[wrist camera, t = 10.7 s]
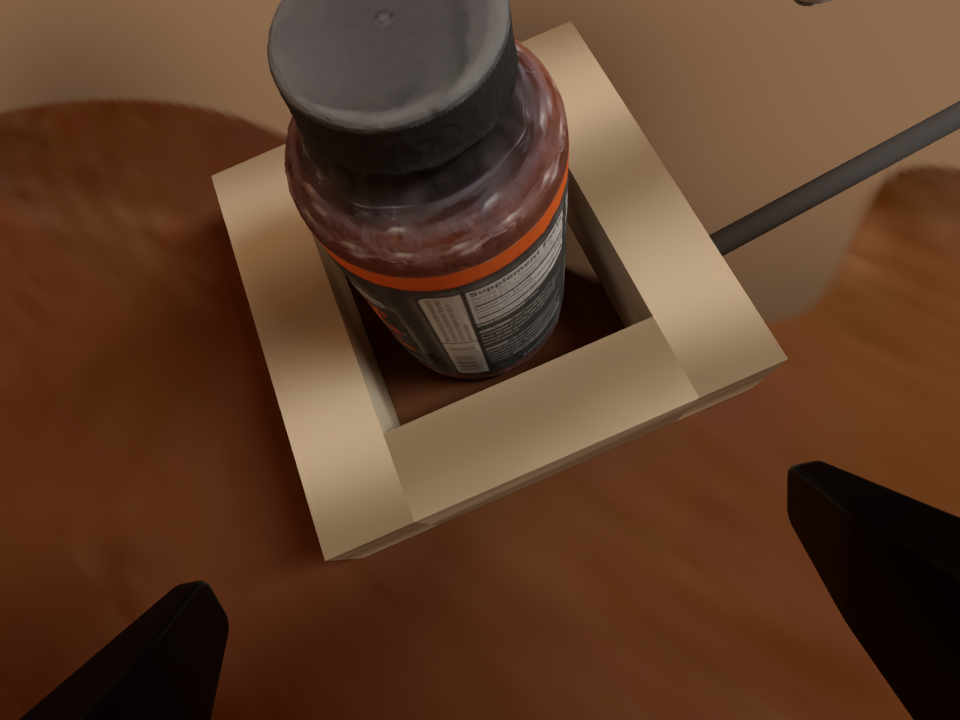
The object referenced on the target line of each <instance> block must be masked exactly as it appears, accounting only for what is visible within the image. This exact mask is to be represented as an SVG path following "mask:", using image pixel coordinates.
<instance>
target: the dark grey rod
mask: <svg viewBox="0 0 960 720" xmlns="http://www.w3.org/2000/svg"><path fill="white" fill-rule="evenodd" d="M959 128H960V101H959V102H957V103H955V104H953V105H952V106H950V107H948V108H946V109H944V110H942V111H940V112H939V113H937V114H935V115H933V116H931V117H929V118H927V119H925V120H924V121H922V122H920V123H918V124H916V125H914V126H913V127H911V128H909V129H907V130H905V131H903V132H901V133H899V134H897V135H896V136H894V137H892V138H890V139H888V140H887V141H884V142H883V143H881V144H879V145H877V146H875V147H874V148H871V149H870V150H868V151H866V152H864V153H862V154H860V155H858V156H856V157H855V158H853V159H851V160H849V161H847V162H845V163H843V164H842V165H840V166H838V167H836V168H834V169H832V170H830V171H828V172H827V173H825V174H823V175H821V176H819V177H817V178H816V179H814V180H812V181H810V182H808V183H806V184H804V185H802V186H801V187H799V188H797V189H795V190H793V191H791V192H789V193H787V194H786V195H784V196H782V197H780V198H778V199H776V200H775V201H773V202H771V203H769V204H767V205H765V206H763V207H762V208H760V209H758V210H756V211H754V212H752V213H750V214H748V215H747V216H745V217H743V218H741V219H739V220H737V221H735V222H734V223H732V224H730V225H728V226H726V227H724V228H722V229H720V230H719V231H717V232H715V233H713V234H711V235H709V237H710V238H711V240H712V241H713V243H714V244H715V246H716V248H717V249H718V251H719V252H720V254H721V255H722V256H724V255H725V254H727V253H729V252H731V251H733V250H735V249H737V248H738V247H740V246H742V245H744V244H746V243H748V242H750V241H751V240H753V239H755V238H757V237H759V236H760V235H763V234H764V233H766V232H768V231H770V230H772V229H774V228H776V227H777V226H779V225H781V224H783V223H785V222H787V221H789V220H790V219H792V218H794V217H796V216H798V215H800V214H802V213H803V212H805V211H807V210H809V209H811V208H812V207H815V206H816V205H818V204H820V203H822V202H824V201H826V200H828V199H829V198H831V197H833V196H835V195H837V194H839V193H841V192H842V191H844V190H846V189H848V188H850V187H852V186H854V185H855V184H857V183H859V182H861V181H863V180H865V179H867V178H868V177H870V176H872V175H874V174H876V173H878V172H879V171H881V170H883V169H885V168H887V167H889V166H891V165H893V164H894V163H896V162H898V161H900V160H902V159H903V158H906V157H907V156H909V155H911V154H913V153H915V152H917V151H919V150H920V149H922V148H924V147H926V146H928V145H930V144H931V143H933V142H935V141H937V140H939V139H941V138H943V137H945V136H946V135H948V134H950V133H952V132H954V131H956V130H958V129H959Z"/></svg>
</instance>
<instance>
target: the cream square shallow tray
mask: <svg viewBox="0 0 960 720" xmlns="http://www.w3.org/2000/svg"><path fill="white" fill-rule="evenodd" d="M521 43H522V44H523V45H524V46H525V47H527V48H529V49H530V50H531V51H532V52H533V53H534V54H535V55H536V57H537V58H538V59H539V60H540V61H541V62H542V63H543V65H544V66H545V67H546V69H547V70H548V72H549V73H550V75H551V77H552V78H553V80H554V82H555V84H556V86H557V88H558V90H559V92H560V95H561V98H562V101H563V103H564V108H565V113H566V118H567V126H568V134H569V165H568V203H567V222H568V223H569V225H570V227H571V229H572V231H573V232H574V234H575V236H576V238H577V240H578V242H579V244H580V245H581V247H582V249H583V251H584V253H585V254H586V256H587V258H588V260H589V262H590V264H591V266H592V267H593V269H594V271H595V273H596V275H597V277H598V279H599V280H600V282H601V284H602V286H603V288H604V290H605V291H606V293H607V295H608V297H609V299H610V301H611V302H612V304H613V306H614V308H615V310H616V312H617V313H618V315H619V317H620V319H621V321H622V323H623V324H624V326H625V329H623V330H620V331H618V332H616V333H614V334H611V335H609V336H607V337H604V338H602V339H600V340H597V341H595V342H593V343H591V344H588V345H586V346H584V347H581V348H579V349H577V350H574V351H572V352H570V353H568V354H565V355H563V356H561V357H558V358H556V359H554V360H551V361H549V362H547V363H545V364H542V365H540V366H538V367H535V368H533V369H531V370H528V371H526V372H524V373H522V374H519V375H517V376H515V377H512V378H510V379H508V380H505V381H503V382H501V383H499V384H496V385H494V386H492V387H489V388H487V389H485V390H483V391H480V392H478V393H476V394H473V395H471V396H469V397H466V398H464V399H462V400H460V401H457V402H455V403H453V404H450V405H448V406H446V407H443V408H441V409H439V410H437V411H434V412H432V413H430V414H427V415H425V416H423V417H420V418H418V419H416V420H414V421H411V422H409V423H407V424H404V425H402V426H401V425H400V423H399V420H398V417H397V415H396V412H395V409H394V406H393V404H392V401H391V398H390V396H389V393H388V390H387V387H386V385H385V382H384V379H383V377H382V374H381V371H380V368H379V366H378V363H377V360H376V358H375V355H374V352H373V349H372V347H371V344H370V341H369V339H368V336H367V333H366V330H365V328H364V325H363V322H362V320H361V317H360V314H359V311H358V309H357V306H356V303H355V301H354V298H353V295H352V292H351V290H350V287H349V284H348V282H347V279H346V276H345V274H344V273H343V271H342V270H341V269H340V268H339V267H338V265H337V264H336V263H335V261H334V260H333V259H332V258H331V257H330V255H329V254H328V252H327V250H326V249H325V248H324V246H323V245H322V244H321V243H320V242H319V240H318V239H317V238H316V237H315V236H314V234H313V233H312V232H311V231H310V230H309V228H308V226H307V225H306V223H305V221H304V220H303V219H302V217H301V216H300V213H299V211H298V209H297V207H296V205H295V203H294V200H293V198H292V196H291V194H290V192H289V186H288V181H287V176H286V173H285V165H284V163H285V157H284V156H285V145H286V144H284V145H282V146H280V147H277V148H275V149H273V150H270V151H268V152H266V153H264V154H261V155H259V156H257V157H254V158H252V159H250V160H247V161H245V162H243V163H240V164H238V165H236V166H233V167H231V168H229V169H226V170H224V171H222V172H219V173H217V174H215V175H213V176H212V180H213V183H214V187H215V190H216V193H217V197H218V200H219V203H220V207H221V210H222V214H223V217H224V220H225V224H226V227H227V231H228V234H229V237H230V241H231V244H232V248H233V251H234V254H235V258H236V261H237V264H238V268H239V271H240V275H241V278H242V281H243V285H244V288H245V292H246V295H247V298H248V302H249V305H250V309H251V312H252V315H253V319H254V322H255V325H256V329H257V332H258V336H259V339H260V342H261V346H262V349H263V353H264V356H265V359H266V363H267V366H268V370H269V373H270V376H271V380H272V383H273V386H274V390H275V393H276V397H277V400H278V403H279V407H280V410H281V414H282V417H283V420H284V424H285V427H286V431H287V434H288V437H289V441H290V444H291V447H292V451H293V454H294V458H295V461H296V464H297V468H298V471H299V475H300V478H301V481H302V485H303V488H304V491H305V495H306V498H307V502H308V505H309V508H310V512H311V515H312V519H313V522H314V525H315V529H316V532H317V536H318V539H319V542H320V546H321V549H322V552H323V556H324V559H325V561H333V560H346V559H359V558H364V557H366V556H369V555H371V554H373V553H376V552H378V551H380V550H382V549H385V548H387V547H389V546H392V545H394V544H396V543H398V542H401V541H403V540H405V539H408V538H410V537H412V536H414V535H417V534H419V533H421V532H424V531H426V530H428V529H431V528H433V527H435V526H437V525H440V524H442V523H444V522H447V521H449V520H451V519H453V518H456V517H458V516H460V515H463V514H465V513H467V512H470V511H472V510H474V509H476V508H479V507H481V506H483V505H486V504H488V503H490V502H492V501H495V500H497V499H499V498H502V497H504V496H506V495H508V494H511V493H513V492H515V491H518V490H520V489H522V488H525V487H527V486H529V485H531V484H534V483H536V482H538V481H541V480H543V479H545V478H547V477H550V476H552V475H554V474H557V473H559V472H561V471H563V470H566V469H568V468H570V467H573V466H575V465H577V464H580V463H582V462H584V461H586V460H589V459H591V458H593V457H596V456H598V455H600V454H602V453H605V452H607V451H609V450H612V449H614V448H616V447H619V446H621V445H623V444H625V443H628V442H630V441H632V440H635V439H637V438H639V437H641V436H644V435H646V434H648V433H651V432H653V431H655V430H657V429H660V428H662V427H664V426H667V425H669V424H671V423H674V422H676V421H678V420H680V419H683V418H685V417H687V416H690V415H692V414H694V413H696V412H699V411H701V410H703V409H706V408H708V407H710V406H712V405H715V404H717V403H719V402H722V401H724V400H726V399H729V398H731V397H733V396H735V395H738V394H740V393H742V392H745V391H747V390H749V389H751V388H752V387H754V386H755V385H756V384H757V383H759V382H760V381H761V380H762V379H764V378H765V377H766V376H768V375H769V374H770V373H771V372H773V371H774V370H775V369H776V368H778V367H779V366H780V365H781V364H783V363H784V362H785V361H786V360H788V358H787V357H786V355H785V354H784V352H783V350H782V349H781V347H780V346H779V344H778V343H777V341H776V340H775V338H774V336H773V335H772V333H771V332H770V330H769V329H768V327H767V326H766V324H765V322H764V321H763V319H762V318H761V316H760V315H759V313H758V312H757V310H756V308H755V307H754V305H753V304H752V302H751V301H750V299H749V297H748V296H747V294H746V293H745V291H744V290H743V288H742V287H741V285H740V283H739V282H738V280H737V279H736V277H735V276H734V274H733V273H732V271H731V269H730V268H729V266H728V265H727V263H726V262H725V260H724V258H723V257H722V255H721V254H720V252H719V251H718V249H717V248H716V246H715V244H714V243H713V241H712V240H711V238H710V237H709V235H708V234H707V232H706V230H705V229H704V227H703V226H702V224H701V223H700V221H699V219H698V218H697V216H696V215H695V213H694V212H693V210H692V209H691V207H690V205H689V204H688V202H687V201H686V199H685V198H684V196H683V195H682V193H681V191H680V190H679V188H678V187H677V185H676V184H675V182H674V180H673V179H672V177H671V176H670V174H669V173H668V172H667V170H666V168H665V166H664V165H663V163H662V162H661V160H660V159H659V157H658V156H657V154H656V152H655V151H654V149H653V148H652V146H651V145H650V143H649V142H648V140H647V138H646V137H645V135H644V134H643V132H642V131H641V129H640V128H639V126H638V124H637V123H636V121H635V120H634V118H633V117H632V115H631V114H630V112H629V111H628V109H627V107H626V106H625V104H624V103H623V101H622V100H621V98H620V96H619V95H618V93H617V92H616V90H615V89H614V87H613V85H612V84H611V82H610V81H609V79H608V78H607V76H606V74H605V73H604V71H603V70H602V68H601V67H600V65H599V64H598V62H597V60H596V59H595V57H594V56H593V54H592V53H591V51H590V50H589V48H588V46H587V45H586V43H585V42H584V40H583V39H582V37H581V36H580V34H579V32H578V31H577V29H576V28H575V26H574V25H573V23H572V21H569V22H567V23H565V24H562V25H560V26H558V27H556V28H553V29H551V30H549V31H547V32H544V33H542V34H539V35H537V36H535V37H532V38H530V39H528V40H525V41H523V42H521Z"/></svg>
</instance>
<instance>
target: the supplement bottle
mask: <svg viewBox="0 0 960 720" xmlns="http://www.w3.org/2000/svg"><path fill="white" fill-rule="evenodd" d="M267 49H268V53H267V54H268V62H269V67H270V72H271V74H272V77H273V80H274V82H275V84H276V86H277V88H278V90H279V92H280V94H281V96H282V98H283V99H284V101H285V103H286V104H287V106H288V108H289V110H290V112H291V114H292V119H291V121H290V124H289V126H288V134H287V138H286V145H285V156H284V157H285V163H284V165H285V173H286V176H287V181H288V186H289V192H290V194H291V196H292V198H293V200H294V203H295V205H296V207H297V209H298V211H299V213H300V216H301V217H302V219H303V220H304V221H305V223H306V225H307V226H308V228H309V230H310V231H311V232H312V233H313V234H314V236H315V237H316V238H317V239H318V240H319V242H320V243H321V244H322V245H323V246H324V248H325V249H326V250H327V252H328V254H329V255H330V257H331V258H332V259H333V260H334V261H335V263H336V264H337V265H338V267H339V268H340V269H341V270H342V271H343V273H344V274H345V275H346V276H347V277H348V279H349V280H350V281H351V283H352V284H353V285H354V286H355V288H356V289H357V290H358V291H359V293H360V294H361V295H362V296H363V297H364V298H365V299H366V301H367V302H368V303H369V304H370V306H371V307H372V309H373V310H374V311H375V312H376V313H377V315H378V316H379V317H380V319H381V320H382V322H383V323H384V324H385V325H386V326H387V328H388V329H389V330H390V331H391V333H392V334H393V335H394V337H395V339H396V340H397V341H398V342H399V343H400V344H401V345H402V346H403V347H404V348H405V350H406V351H408V352H409V353H410V354H411V355H412V356H413V357H415V358H416V359H417V360H418V361H419V362H421V363H422V364H423V365H425V366H426V367H428V368H430V369H432V370H434V371H436V372H439V373H440V374H443V375H446V376H450V377H455V378H463V379H480V378H488V377H493V376H498V375H501V374H503V373H506V372H508V371H511V370H513V369H515V368H517V367H519V366H520V365H522V364H523V363H525V362H526V361H528V360H529V359H530V358H531V357H533V356H534V355H535V354H536V353H537V352H538V351H539V350H540V349H541V348H542V346H543V345H544V344H545V343H546V342H547V340H548V338H549V337H550V336H551V334H552V332H553V330H554V328H555V326H556V324H557V322H558V319H559V315H560V311H561V307H562V300H563V294H564V276H565V254H566V230H567V203H568V165H569V134H568V126H567V118H566V113H565V108H564V103H563V101H562V98H561V95H560V92H559V90H558V88H557V86H556V84H555V82H554V80H553V78H552V77H551V75H550V73H549V72H548V70H547V69H546V67H545V66H544V65H543V63H542V62H541V61H540V60H539V59H538V58H537V57H536V55H535V54H534V53H533V52H532V51H531V50H530V49H529V48H527V47H525V46H524V45H523V44H522V43H520V42H519V41H518V40H516V39H515V38H514V36H513V32H512V21H511V12H510V6H509V1H508V0H282V1H281V2H280V4H279V6H278V8H277V11H276V13H275V15H274V18H273V21H272V23H271V26H270V29H269V39H268V47H267Z"/></svg>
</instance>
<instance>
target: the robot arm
mask: <svg viewBox="0 0 960 720" xmlns="http://www.w3.org/2000/svg"><path fill="white" fill-rule="evenodd" d="M787 511H788V516H789V520H790V522H791V525H792V527H793V528H794V530H795V532H796V534H797V536H798V537H799V539H800V541H801V543H802V545H803V547H804V548H805V550H806V552H807V554H808V556H809V557H810V559H811V561H812V563H813V565H814V566H815V568H816V570H817V572H818V574H819V575H820V577H821V579H822V581H823V583H824V584H825V586H826V588H827V590H828V592H829V593H830V595H831V597H832V599H833V601H834V603H835V604H836V606H837V608H838V609H839V611H840V613H841V615H842V616H843V618H844V620H845V621H846V623H847V624H848V626H849V627H850V629H851V630H852V632H853V633H854V635H855V636H856V638H857V639H858V641H859V642H860V644H861V645H862V646H863V648H864V649H865V651H866V652H867V654H868V655H869V656H870V658H871V659H872V661H873V662H874V664H875V665H876V666H877V668H878V669H879V671H880V672H881V674H882V675H883V677H884V678H885V679H886V681H887V682H888V684H889V685H890V687H891V688H892V689H893V691H894V692H895V694H896V695H897V697H898V698H899V699H900V701H901V702H902V704H903V705H904V707H905V708H906V709H907V711H908V712H909V714H910V715H911V717H912V718H913V720H960V518H959V517H957V516H954V515H952V514H949V513H947V512H945V511H942V510H940V509H937V508H935V507H932V506H930V505H927V504H925V503H923V502H920V501H918V500H915V499H913V498H910V497H908V496H905V495H903V494H901V493H898V492H896V491H893V490H891V489H888V488H886V487H883V486H881V485H879V484H876V483H874V482H871V481H869V480H866V479H864V478H861V477H859V476H857V475H854V474H852V473H849V472H847V471H844V470H842V469H839V468H837V467H835V466H832V465H830V464H827V463H825V462H822V461H811V462H806V463H800V464H795V465H793V466H791V467H790V468H789V470H788V480H787ZM228 631H229V624H228V618H227V615H226V613H225V612H224V610H223V608H222V606H221V604H220V603H219V601H218V599H217V597H216V595H215V594H214V592H213V590H212V588H211V586H210V585H209V584H208V583H207V582H205V581H194V582H189V583H184V584H180V585H178V586H176V587H174V588H173V589H172V590H171V591H170V592H168V593H167V594H166V595H165V596H164V597H162V598H161V599H160V600H159V601H158V602H157V603H155V604H154V605H153V606H152V607H151V608H149V609H148V610H147V611H146V612H145V613H144V614H142V615H141V616H140V617H139V618H138V619H137V620H135V621H134V622H133V623H132V624H131V625H129V626H128V627H127V628H126V629H125V630H124V631H122V632H121V633H120V634H119V635H118V636H117V637H115V638H114V639H113V640H112V641H111V642H109V643H108V644H107V645H106V646H105V647H104V648H102V649H101V650H100V651H99V652H98V653H97V654H95V655H94V656H93V657H92V658H91V659H89V660H88V661H87V662H86V663H85V664H84V665H82V666H81V667H80V668H79V669H78V670H77V671H75V672H74V673H73V674H72V675H71V676H69V677H68V678H67V679H66V680H65V681H64V682H62V683H61V684H60V685H59V686H58V687H57V688H55V689H54V690H53V691H52V692H51V693H49V694H48V695H47V696H46V697H45V698H44V699H42V700H41V701H40V702H39V703H38V704H36V705H35V706H34V707H33V708H32V709H31V710H29V711H28V712H27V713H26V714H25V715H24V716H22V717H21V718H20V719H19V720H210V719H211V715H212V710H213V705H214V700H215V695H216V691H217V686H218V681H219V676H220V671H221V666H222V661H223V657H224V652H225V647H226V642H227V637H228Z"/></svg>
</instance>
